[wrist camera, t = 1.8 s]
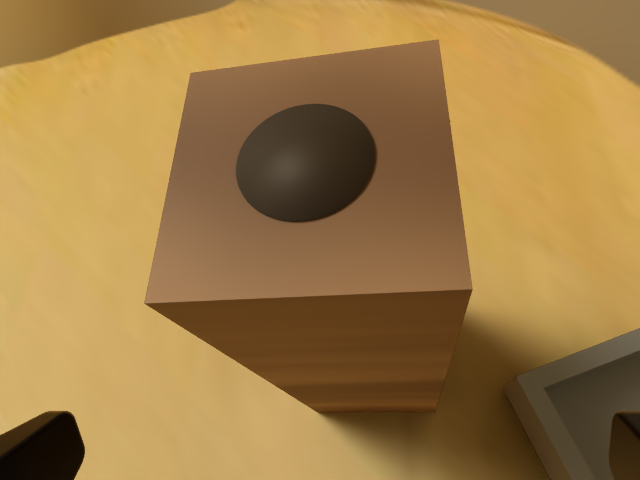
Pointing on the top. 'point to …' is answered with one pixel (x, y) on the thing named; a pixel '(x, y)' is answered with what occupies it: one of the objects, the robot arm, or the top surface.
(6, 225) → the top surface
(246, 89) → the tall block
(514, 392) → the tray
